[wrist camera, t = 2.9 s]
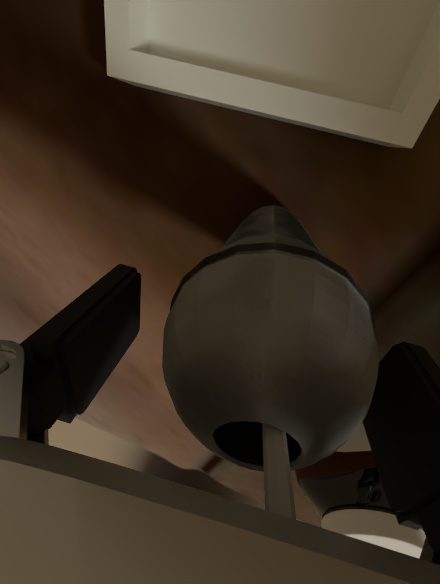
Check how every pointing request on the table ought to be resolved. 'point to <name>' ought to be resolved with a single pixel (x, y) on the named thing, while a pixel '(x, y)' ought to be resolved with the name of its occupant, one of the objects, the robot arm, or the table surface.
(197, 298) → the beverage cup
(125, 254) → the table surface
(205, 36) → the walled tray
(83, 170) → the table surface
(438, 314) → the table surface
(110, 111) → the table surface
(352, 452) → the spread jar
